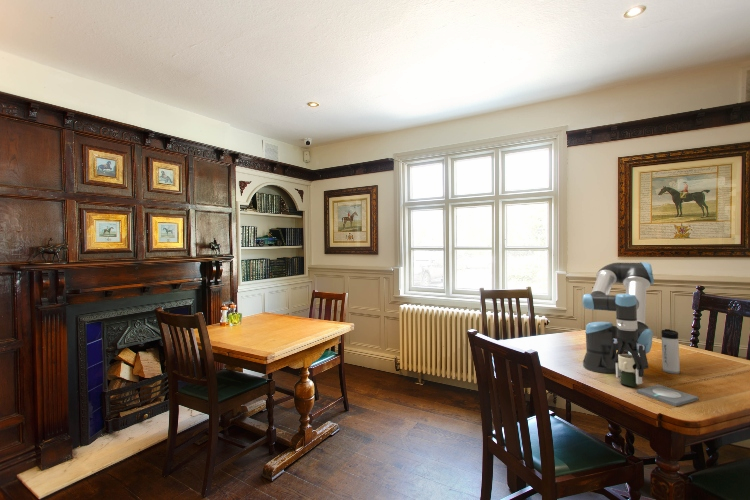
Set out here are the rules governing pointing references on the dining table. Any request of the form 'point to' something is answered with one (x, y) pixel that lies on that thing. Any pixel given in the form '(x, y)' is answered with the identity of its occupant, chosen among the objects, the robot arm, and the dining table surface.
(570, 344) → the dining table surface
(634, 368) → the character mug
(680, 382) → the dining table surface
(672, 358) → the travel mug
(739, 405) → the dining table surface
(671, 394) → the charging pad
